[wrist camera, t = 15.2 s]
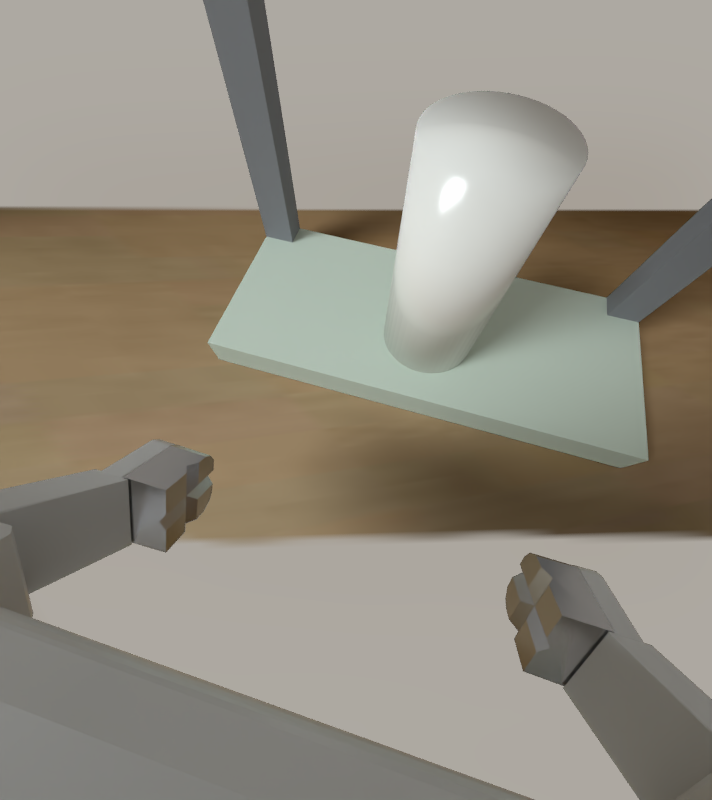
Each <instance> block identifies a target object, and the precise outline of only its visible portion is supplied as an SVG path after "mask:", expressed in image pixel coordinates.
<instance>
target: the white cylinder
mask: <svg viewBox="0 0 712 800" xmlns="http://www.w3.org/2000/svg"><path fill="white" fill-rule="evenodd" d="M587 158H588V148H587V144H586V141H585V138H584V136H583V135H582V133H581V132H580V130H579V129H578V128H577V126H576V125H575V124H574V123H573V122H572V121H571V120H569V119H568V118H567V117H566V116H564V115H563V114H561V113H560V112H558V111H557V110H555V109H553V108H551V107H550V106H548V105H545V104H543V103H541V102H539V101H536V100H533V99H530V98H527V97H523V96H520V95H515V94H510V93H503V92H493V91H475V92H466V93H459V94H455V95H452V96H449V97H446V98H443V99H441V100H439V101H437V102H435V103H434V104H432V105H431V106H429V107H428V108H427V109H426V110H425V111H424V112H423V113H422V115H421V116H420V118H419V120H418V122H417V126H416V131H415V137H414V144H413V150H412V156H411V163H410V169H409V175H408V181H407V188H406V194H405V200H404V207H403V213H402V219H401V225H400V232H399V238H398V244H397V251H396V257H395V263H394V270H393V276H392V282H391V288H390V295H389V301H388V307H387V314H386V320H385V326H384V340H385V344H386V346H387V348H388V350H389V352H390V353H391V354H392V356H393V357H394V358H395V359H396V360H397V361H398V362H400V363H401V364H402V365H404V366H406V367H407V368H410V369H412V370H415V371H418V372H423V373H441V372H445V371H448V370H450V369H453V368H454V367H456V366H458V365H459V364H460V363H461V362H462V361H463V360H464V359H465V358H466V356H467V354H468V353H469V351H470V350H471V348H472V346H473V345H474V343H475V342H476V340H477V338H478V337H479V335H480V334H481V332H482V330H483V329H484V327H485V326H486V324H487V322H488V321H489V319H490V317H491V316H492V314H493V313H494V311H495V309H496V308H497V306H498V305H499V303H500V301H501V300H502V298H503V297H504V295H505V293H506V292H507V290H508V289H509V287H510V285H511V284H512V282H513V281H514V279H515V277H516V276H517V274H518V272H519V271H520V269H521V268H522V266H523V264H524V263H525V261H526V260H527V258H528V256H529V255H530V253H531V252H532V250H533V248H534V247H535V245H536V244H537V242H538V240H539V239H540V237H541V236H542V234H543V232H544V231H545V229H546V227H547V226H548V224H549V223H550V221H551V219H552V218H553V216H554V215H555V213H556V211H557V210H558V208H559V207H560V205H561V203H562V202H563V200H564V199H565V197H566V195H567V194H568V192H569V191H570V189H571V187H572V185H573V184H574V182H575V181H576V179H577V178H578V176H579V174H580V172H581V171H582V170H583V168H584V166H585V164H586V161H587Z"/></svg>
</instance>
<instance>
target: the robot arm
mask: <svg viewBox="0 0 712 800" xmlns="http://www.w3.org/2000/svg"><path fill="white" fill-rule="evenodd" d="M213 470H214V459H213V458H212V457H211V456H210V455H207V454H204V453H201V452H198V451H195V450H192V449H189V448H185V447H182V446H179V445H175V444H173V443H169V442H166V441H163V440H160V439H156V440H152V441H150V442H148V443H147V444H145V445H143V446H142V447H140V448H138V449H137V450H135V451H133V452H132V453H130V454H129V455H127V456H125V457H124V458H122V459H120V460H119V461H117V462H115V463H114V464H112V465H110V466H109V467H107V468H106V469H104V470H102V471H99V470H96V469H94V470H90V471H85V472H80V473H76V474H71V475H66V476H62V477H57V478H52V479H48V480H43V481H38V482H34V483H29V484H24V485H20V486H15V487H10V488H6V489H1V490H0V800H534V799H531V798H528V797H526V796H523V795H520V794H517V793H514V792H512V791H509V790H506V789H504V788H501V787H498V786H495V785H493V784H490V783H487V782H484V781H481V780H479V779H476V778H473V777H470V776H468V775H465V774H462V773H459V772H457V771H454V770H451V769H448V768H446V767H443V766H440V765H437V764H435V763H432V762H429V761H426V760H424V759H421V758H418V757H415V756H412V755H410V754H407V753H404V752H401V751H399V750H396V749H393V748H390V747H388V746H385V745H382V744H379V743H376V742H374V741H371V740H368V739H366V738H362V737H360V736H357V735H354V734H352V733H349V732H346V731H343V730H341V729H338V728H335V727H332V726H330V725H327V724H324V723H321V722H319V721H315V720H313V719H310V718H307V717H304V716H302V715H299V714H296V713H294V712H291V711H288V710H285V709H282V708H280V707H277V706H274V705H271V704H269V703H266V702H263V701H260V700H258V699H255V698H252V697H249V696H246V695H243V694H241V693H238V692H235V691H233V690H229V689H227V688H224V687H221V686H219V685H216V684H213V683H210V682H208V681H205V680H202V679H199V678H197V677H194V676H191V675H188V674H185V673H183V672H180V671H177V670H174V669H172V668H169V667H166V666H163V665H160V664H158V663H155V662H152V661H150V660H147V659H144V658H141V657H138V656H136V655H133V654H130V653H127V652H125V651H122V650H119V649H116V648H113V647H111V646H108V645H105V644H102V643H99V642H97V641H94V640H91V639H88V638H86V637H83V636H80V635H78V634H75V633H72V632H69V631H67V630H64V629H61V628H58V627H55V626H52V625H50V624H47V623H44V622H42V621H39V620H36V619H33V618H32V617H33V610H32V606H31V602H30V598H29V594H30V593H32V592H34V591H36V590H38V589H40V588H42V587H44V586H47V585H49V584H51V583H53V582H55V581H57V580H59V579H61V578H63V577H65V576H67V575H69V574H71V573H74V572H76V571H78V570H80V569H82V568H84V567H86V566H88V565H90V564H92V563H94V562H96V561H98V560H101V559H102V558H105V557H107V556H109V555H111V554H113V553H115V552H117V551H119V550H121V549H123V548H125V547H127V546H130V545H131V544H132V543H135V544H139V545H142V546H146V547H149V548H152V549H156V550H159V551H163V552H167V551H168V550H169V549H170V548H171V546H172V545H173V544H174V543H175V542H176V541H177V540H178V539H179V538H180V537H181V536H182V535H183V534H184V532H185V523H188V522H190V521H193V520H196V519H197V518H198V517H199V516H200V515H201V513H202V512H203V511H204V509H205V508H206V506H207V504H208V502H209V500H210V497H211V493H212V485H213V484H212V482H211V480H210V479H209V477H208V475H209V474H210V473H211V472H212V471H213ZM520 565H521V568H522V571H523V573H520V574H518V575H516V576H514V577H512V579H511V581H510V583H509V585H508V587H507V593H506V609H507V613H508V617H509V620H510V621H511V622H512V624H513V625H514V626H515V628H516V629H517V630H518V633H517V635H516V637H515V639H514V640H515V643H516V647H517V651H518V654H519V658H520V662H521V665H522V669H523V671H524V672H527V673H529V674H532V675H535V676H538V677H541V678H543V679H546V680H549V681H551V682H554V683H557V684H560V685H563V686H564V690H565V691H566V693H567V694H568V696H569V697H570V699H571V700H572V702H573V703H574V705H575V706H576V707H577V709H578V710H579V712H580V713H581V715H582V716H583V718H584V719H585V721H586V722H587V724H588V725H589V726H590V728H591V729H592V731H593V732H594V734H595V735H596V737H597V738H598V740H599V741H600V743H601V744H602V746H603V747H604V748H605V750H606V751H607V753H608V754H609V756H610V757H611V759H612V760H613V762H614V763H615V764H616V766H617V767H618V769H619V770H620V772H621V773H622V775H623V776H624V778H625V779H626V780H627V782H628V783H629V785H630V786H631V788H632V789H633V791H634V792H635V794H636V795H637V797H638V798H639V799H640V800H712V699H710V697H708V696H707V695H706V694H705V693H704V692H703V691H702V690H701V689H699V688H698V687H697V686H696V685H695V684H694V683H693V682H692V681H691V680H689V679H688V678H687V677H686V676H685V675H684V674H683V673H682V672H681V671H680V670H678V669H677V668H676V667H675V666H674V665H673V664H672V663H671V662H670V661H668V660H667V659H666V658H665V657H664V656H663V655H662V654H661V653H659V652H658V651H657V650H656V649H655V648H654V647H653V646H652V645H649V644H646V643H643V641H642V639H641V638H640V636H639V635H638V633H637V631H636V630H635V628H634V627H633V625H632V623H631V622H630V620H629V619H628V617H627V616H626V614H625V612H624V610H623V609H622V607H621V606H620V604H619V602H618V601H617V599H616V598H615V596H614V594H613V593H612V591H611V590H610V588H609V586H608V585H607V583H606V582H605V580H604V578H603V577H602V576H601V575H600V574H598V573H597V572H596V571H593V570H589V569H585V568H582V567H578V566H574V565H569V564H566V563H562V562H559V561H556V560H552V559H549V558H545V557H542V556H539V555H535V554H532V553H529V554H528V555H526V556H525V557H524V558H523V560H522V562H521V564H520Z"/></svg>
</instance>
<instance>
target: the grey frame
mask: <svg viewBox="0 0 712 800" xmlns="http://www.w3.org/2000/svg"><path fill="white" fill-rule="evenodd" d="M203 2H204V5H205V9H206V13H207V16H208V20H209V24H210V28H211V31H212V35H213V38H214V42H215V46H216V50H217V53H218V57H219V61H220V65H221V68H222V72H223V76H224V79H225V83H226V87H227V91H228V95H229V98H230V102H231V106H232V109H233V113H234V117H235V121H236V124H237V128H238V132H239V135H240V139H241V143H242V147H243V150H244V154H245V157H246V161H247V165H248V169H249V172H250V176H251V180H252V184H253V187H254V191H255V195H256V199H257V202H258V206H259V210H260V214H261V217H262V221H263V225H264V228H265V232H266V236H267V237H266V239H265V240H264V242H263V244H262V246H261V248H260V249H259V251H258V253H257V255H256V257H255V258H254V260H253V262H252V264H251V266H250V267H249V269H248V271H247V273H246V275H245V276H244V278H243V280H242V282H241V284H240V285H239V287H238V289H237V291H236V293H235V294H234V296H233V298H232V300H231V302H230V303H229V305H228V307H227V309H226V310H225V312H224V314H223V316H222V318H221V319H220V321H219V323H218V325H217V327H216V328H215V330H214V332H213V334H212V336H211V337H210V339H209V341H208V344H209V345H210V347H211V348H212V349H213V351H214V352H215V354H216V355H217V357H218V358H219V359H220V360H224V361H228V362H231V363H235V364H239V365H242V366H246V367H250V368H254V369H257V370H261V371H265V372H268V373H272V374H276V375H279V376H283V377H287V378H290V379H294V380H298V381H301V382H305V383H309V384H312V385H316V386H320V387H324V388H327V389H331V390H335V391H338V392H342V393H346V394H349V395H353V396H357V397H360V398H364V399H368V400H371V401H375V402H379V403H382V404H386V405H390V406H394V407H397V408H401V409H405V410H408V411H412V412H416V413H419V414H423V415H427V416H430V417H434V418H438V419H441V420H445V421H449V422H452V423H456V424H460V425H464V426H467V427H471V428H475V429H478V430H482V431H486V432H489V433H493V434H497V435H500V436H504V437H508V438H511V439H515V440H519V441H523V442H526V443H530V444H534V445H537V446H541V447H545V448H548V449H552V450H556V451H559V452H563V453H567V454H570V455H574V456H578V457H581V458H585V459H589V460H593V461H596V462H600V463H604V464H607V465H611V466H615V467H618V468H623V467H626V466H630V465H634V464H637V463H641V462H645V461H649V459H648V445H647V432H646V418H645V404H644V390H643V376H642V363H641V349H640V335H639V322H640V321H641V320H642V319H644V318H645V317H646V316H648V315H649V314H650V313H652V312H653V311H654V310H656V309H657V308H658V307H660V306H661V305H662V304H663V303H665V302H666V301H667V300H669V299H670V298H671V297H673V296H674V295H675V294H677V293H678V292H679V291H681V290H682V289H683V288H685V287H686V286H687V285H689V284H690V283H691V282H693V281H694V280H695V279H697V278H698V277H699V276H700V275H702V274H703V273H704V272H706V271H707V270H708V269H710V268H711V267H712V199H711V200H710V201H709V202H707V204H705V205H704V206H703V207H702V208H701V209H700V210H699V211H698V212H697V213H696V214H695V215H694V216H693V217H692V218H690V219H689V220H688V221H687V222H686V223H685V224H684V225H683V226H682V227H681V228H680V229H679V230H678V231H677V232H676V233H675V234H674V235H673V236H671V237H670V238H669V239H668V240H667V241H666V242H665V243H664V244H663V245H662V246H661V247H660V248H659V249H658V250H657V251H656V252H655V253H653V254H652V255H651V256H650V257H649V258H648V259H647V260H646V261H645V262H644V263H643V264H642V265H641V266H640V267H639V268H638V269H637V270H636V271H634V272H633V273H632V274H631V275H630V276H629V277H628V278H627V279H626V280H625V281H624V282H623V283H622V284H621V285H620V286H619V287H618V288H616V289H615V290H614V291H613V292H612V293H611V294H610V295H609V296H608V297H607V298H605V297H601V296H596V295H592V294H588V293H583V292H579V291H574V290H570V289H565V288H561V287H557V286H552V285H548V284H543V283H539V282H534V281H530V280H526V279H521V278H517V277H515V279H514V281H513V282H512V284H511V285H510V287H509V289H508V290H507V292H506V293H505V295H504V297H503V298H502V300H501V301H500V303H499V305H498V306H497V308H496V309H495V311H494V313H493V314H492V316H491V317H490V319H489V321H488V322H487V324H486V326H485V327H484V329H483V330H482V332H481V334H480V335H479V337H478V338H477V340H476V342H475V343H474V345H473V346H472V348H471V350H470V351H469V353H468V354H467V356H466V358H465V359H464V360H463V361H462V362H461V363H460V364H459V365H458V366H456V367H454V368H453V369H450V370H448V371H445V372H441V373H423V372H418V371H415V370H412V369H410V368H407V367H406V366H404V365H402V364H401V363H400V362H398V361H397V360H396V359H395V358H394V357H393V356H392V354H391V353H390V352H389V350H388V348H387V346H386V344H385V340H384V326H385V320H386V314H387V307H388V301H389V295H390V288H391V282H392V276H393V270H394V263H395V257H396V251H397V250H393V249H388V248H384V247H380V246H375V245H371V244H366V243H362V242H358V241H353V240H349V239H344V238H340V237H335V236H331V235H327V234H322V233H318V232H313V231H309V230H304V229H300V227H299V220H298V214H297V208H296V201H295V195H294V189H293V182H292V176H291V170H290V163H289V157H288V150H287V144H286V137H285V131H284V125H283V118H282V112H281V106H280V99H279V93H278V86H277V80H276V74H275V67H274V61H273V54H272V49H271V41H270V35H269V29H268V22H267V16H266V10H265V3H264V0H203Z"/></svg>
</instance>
